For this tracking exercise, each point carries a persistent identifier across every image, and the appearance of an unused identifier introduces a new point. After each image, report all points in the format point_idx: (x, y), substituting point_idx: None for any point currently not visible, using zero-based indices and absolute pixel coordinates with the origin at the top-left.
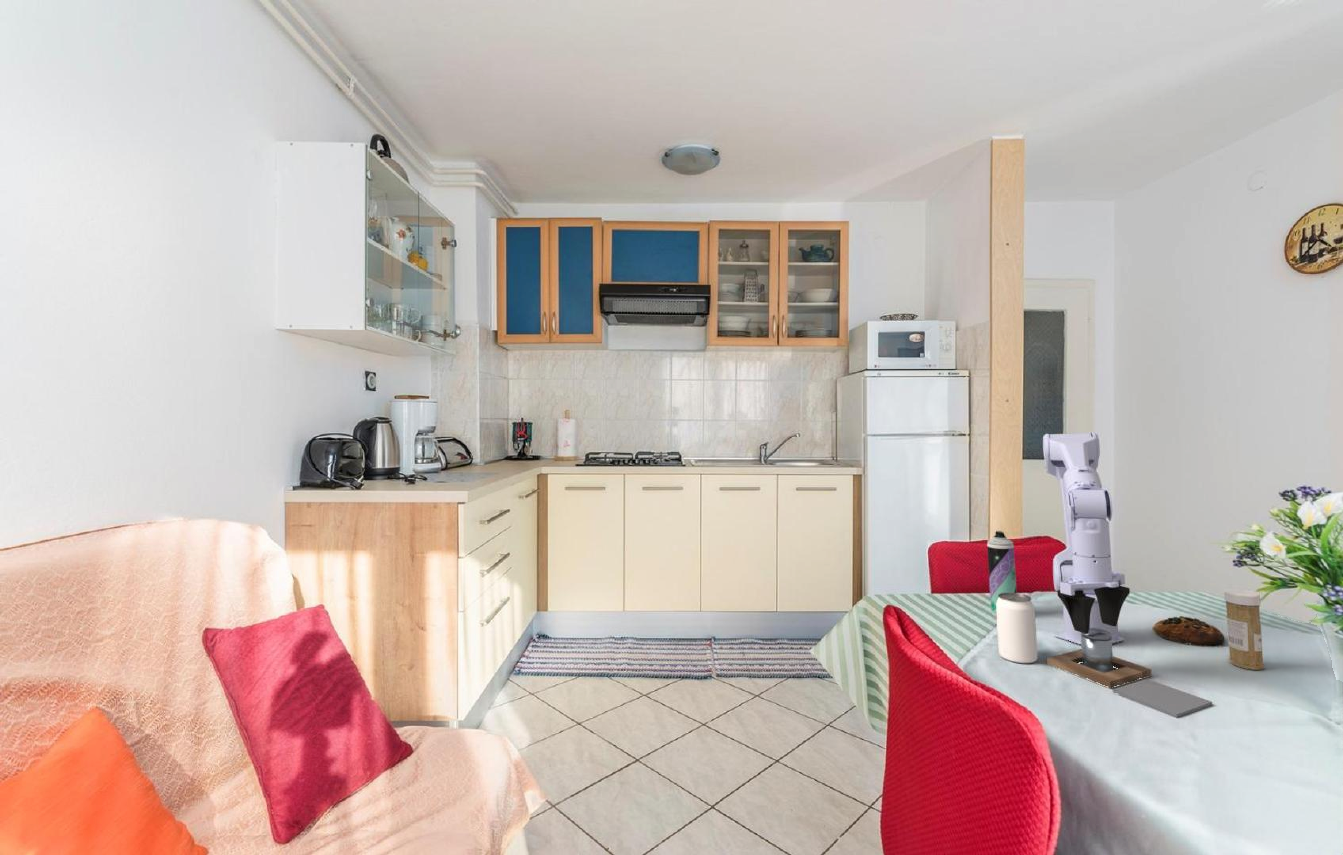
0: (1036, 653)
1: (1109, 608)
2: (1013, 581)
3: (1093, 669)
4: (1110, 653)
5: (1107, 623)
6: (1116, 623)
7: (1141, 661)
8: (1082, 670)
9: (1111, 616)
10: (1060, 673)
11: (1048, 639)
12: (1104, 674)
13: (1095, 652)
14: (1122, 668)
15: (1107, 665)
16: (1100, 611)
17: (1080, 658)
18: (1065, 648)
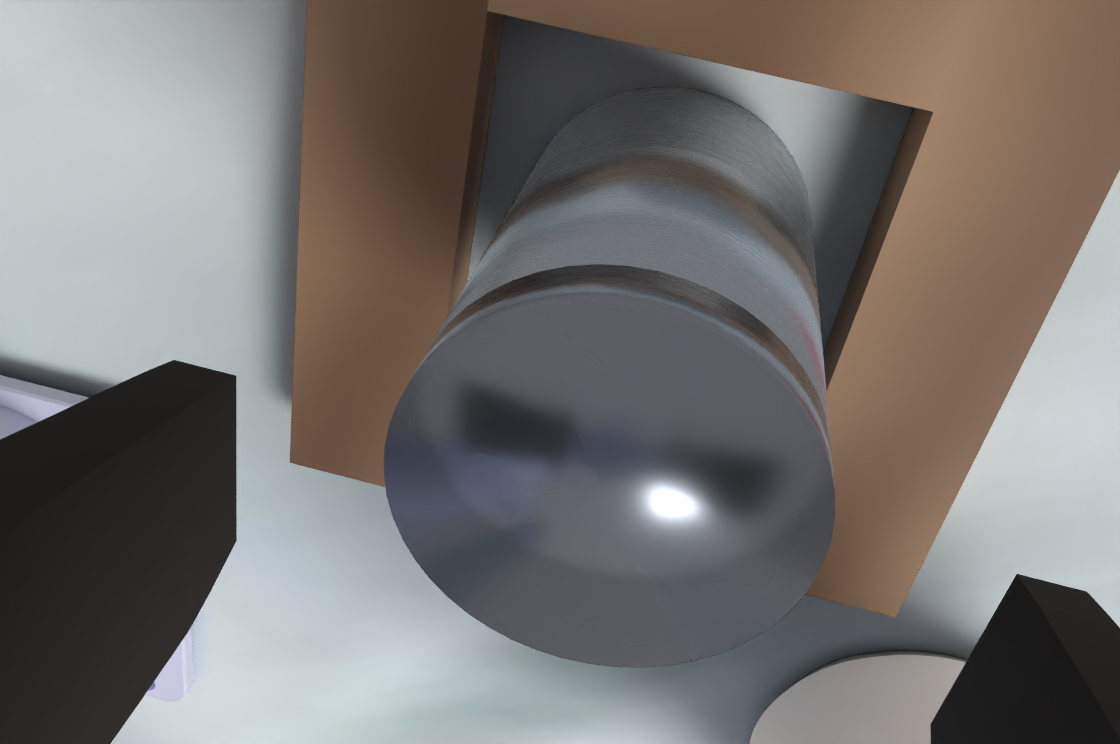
0: (909, 705)
1: (2, 691)
2: None
3: (895, 232)
4: (667, 181)
5: (230, 485)
6: (157, 380)
7: (38, 15)
8: (1029, 301)
9: (127, 530)
10: (1056, 436)
11: (287, 696)
12: (983, 92)
13: (819, 319)
14: (591, 19)
15: (740, 147)
16: (114, 725)
17: None
18: (361, 570)
